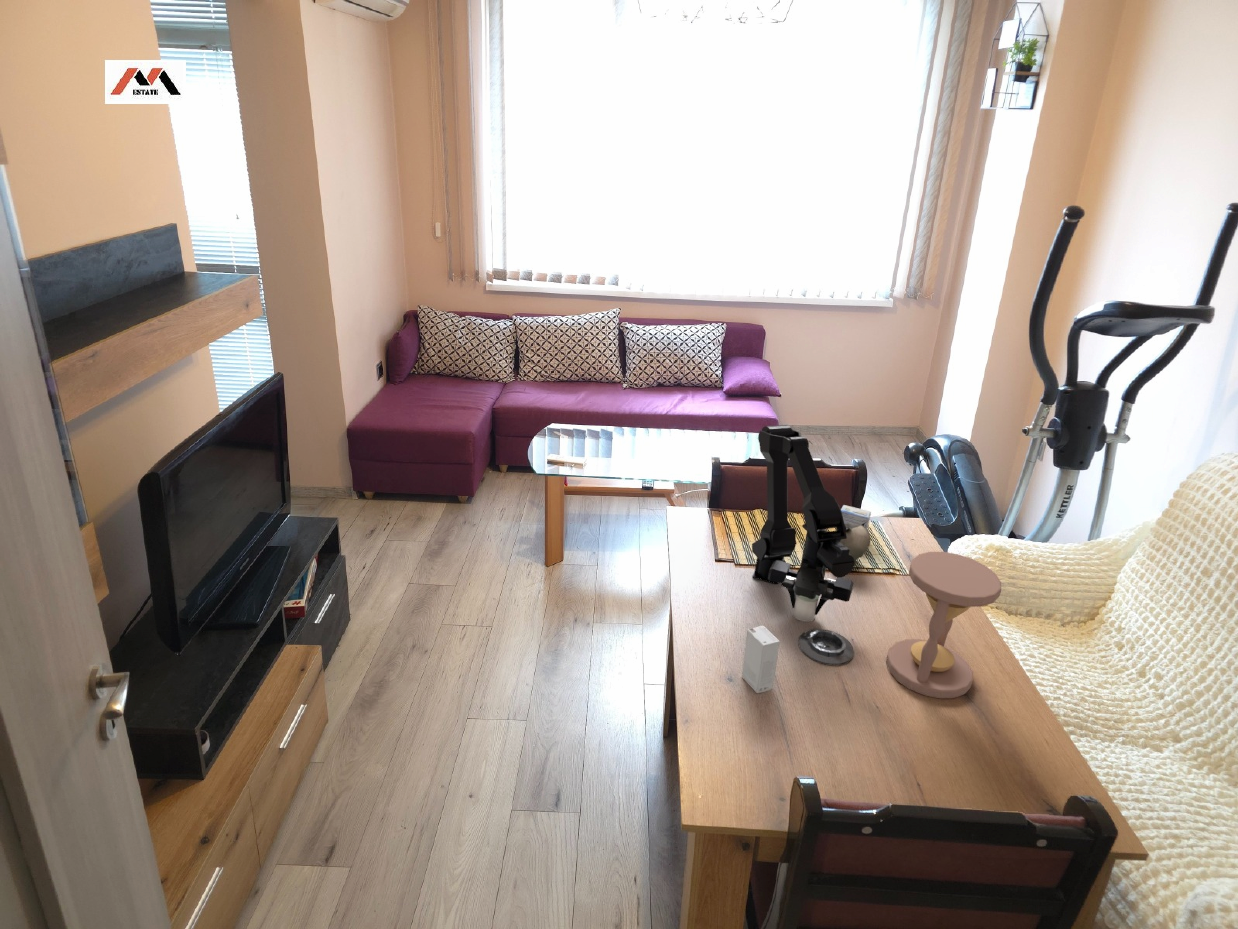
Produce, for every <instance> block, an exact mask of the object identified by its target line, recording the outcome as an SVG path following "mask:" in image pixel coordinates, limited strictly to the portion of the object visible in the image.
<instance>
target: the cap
mask: <svg viewBox="0 0 1238 929" xmlns="http://www.w3.org/2000/svg"><path fill="white" fill-rule="evenodd" d="M819 600H820V596H818V595H816V597H815V598H814V599H809V598H807V597H804V596H798V595H797V596H796V601H795V606H794V608H793V612H792V615H793V617H794V618H795V620H798V621H800V622H805V623H809V622H813V621H814V620H815V618H816V617H815V616H816V615H815V611H816V608H817V605H818V603H819Z"/></svg>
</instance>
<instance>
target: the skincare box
mask: <svg viewBox="0 0 1238 929" xmlns="http://www.w3.org/2000/svg"><path fill="white" fill-rule="evenodd" d="M780 643H781V641H780V640H779V639H778V638H777V637H776V636H774V634H773V633H772V632H771V631H770V630H769V629H767V627H765V626H764V625H759V626H756V627H753V628H748V629H747V630H746V637H745V646H744V652H743V662H742V670H741V677H742V679H743V680H744V681H745V682H746V683H747V684H748V685H749V687H751V688H752V690H753V691H754V692H755V693H756V694H760V693H761V694H762V693H765V692H768V691H772V690H773V688H774V684H775V678H776V671H777V663H778V656H779V651H780V650H779V649H780Z"/></svg>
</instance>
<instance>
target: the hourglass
mask: <svg viewBox="0 0 1238 929" xmlns="http://www.w3.org/2000/svg"><path fill="white" fill-rule="evenodd" d="M908 576H909V577H910V579H911V581H912V583H913V584H914V585H915V586H916V587H917V588H918V589H919V590H921V591H922V592H923V593H925V596H926V599H927V600H928V602H929V604H930V607H931V609H932V611H933V614H932V616H931V617H930V621H929V624H928V634H929V635H928V636H929V638H927V639H922V638H921V639H920V638H906V639H905V638H904V639H903V640H899V641H896V642H894V643H893V644H892V645H891V646H890V647H889V648H888V652H887V656H886V662H885V663H886V665H887V668H888V671H889V673H890V674H891V675H892V677H893V678H894V679H895V680H896V681H897V682H898V683H900V684H901V685H902V686H904V687H905V688H907V689H909V690H910V691H913V692H916V693H918V694H921V695H923V696H925V697H930V698H935V699H941V700H942V699H956V698H958V697H961V696H964V695H965V694H967V692H968V691H969V690H970V689H971V688H972V685H973V678H974V677H973V676H974V672H973V669H972V667H971V666H970V664H969V662H968V661H967V660H966V659H965V658H963V656H962V655H960V653H958V652H956V651H955V650H952V648H949V647H948V646H945V644H946V640H947V638H948V637H947V636H948V634H949V633H950V631H951V629H952V626H953V622H954V621H953V620H954V619H955V618H956V617H959V616H961V615H962V614H963V613H965V612H967V611H968V610H969V609H970V608H971V607H972V608H973V607H977V608H978V607H985V606H988V605H992V604H993V603H995V602H996V601H997V600H998V599H999V598H1000V596H1001V593H1002V581H1001V580H1000V578H999V576H998V575H997V574H996V572H994V571H993V570H992V569H991V568H989V567H988V566H986V565H985V564H983V563H981V562H979V561H977V560H975V559H974V558H970V557H967V556H964V555H962V554H958V553H953V552H946V551H928V552H923V553H919V554H917V555H916V556H915V557H913V558H912V559H911V561H910V565H909V570H908Z"/></svg>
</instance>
